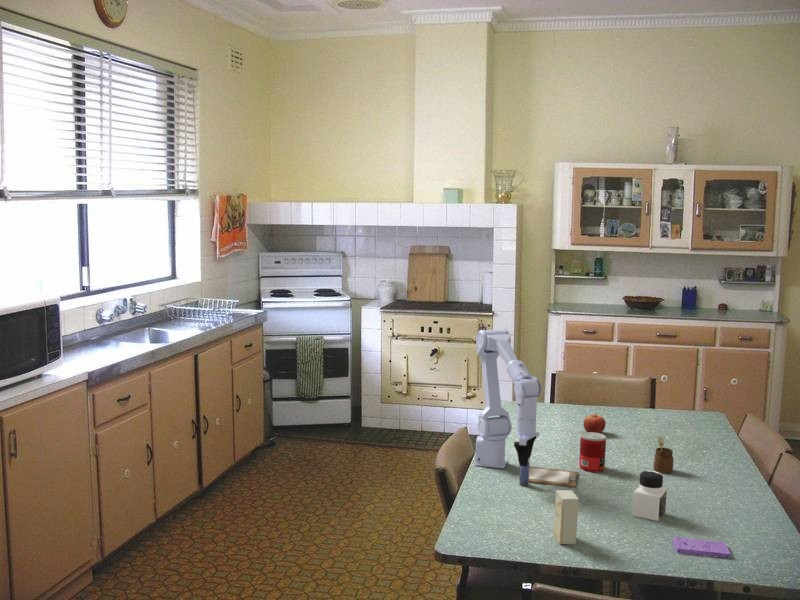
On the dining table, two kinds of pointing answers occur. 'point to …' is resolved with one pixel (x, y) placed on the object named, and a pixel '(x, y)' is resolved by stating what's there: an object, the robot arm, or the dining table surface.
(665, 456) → the utensil holder
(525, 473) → the blue cylindrical bottle
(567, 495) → the skincare box
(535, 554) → the dining table surface
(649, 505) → the medicine bottle
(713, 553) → the sponges
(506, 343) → the robot arm
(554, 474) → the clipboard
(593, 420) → the apple
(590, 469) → the canned food
